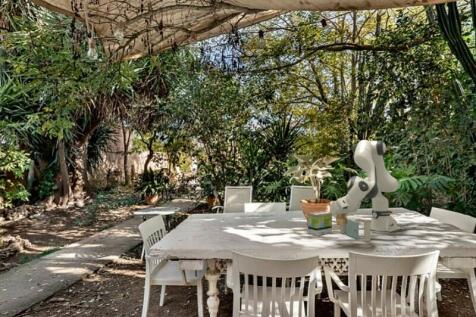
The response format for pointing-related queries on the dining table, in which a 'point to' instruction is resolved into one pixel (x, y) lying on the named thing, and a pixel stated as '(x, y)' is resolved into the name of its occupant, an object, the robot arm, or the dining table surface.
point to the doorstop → (341, 219)
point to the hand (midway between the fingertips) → (339, 215)
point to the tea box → (319, 223)
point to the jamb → (367, 230)
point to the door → (352, 228)
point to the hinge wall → (342, 229)
